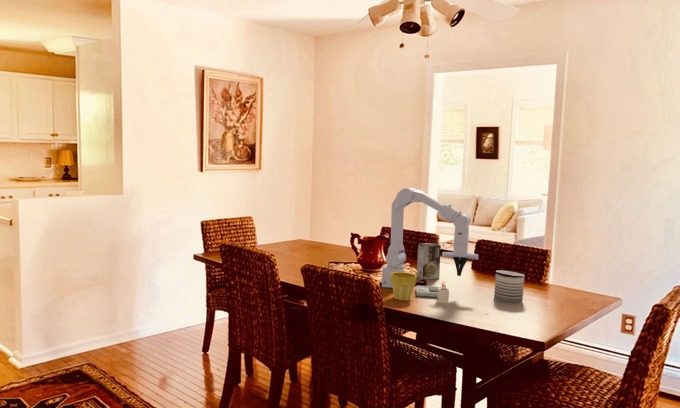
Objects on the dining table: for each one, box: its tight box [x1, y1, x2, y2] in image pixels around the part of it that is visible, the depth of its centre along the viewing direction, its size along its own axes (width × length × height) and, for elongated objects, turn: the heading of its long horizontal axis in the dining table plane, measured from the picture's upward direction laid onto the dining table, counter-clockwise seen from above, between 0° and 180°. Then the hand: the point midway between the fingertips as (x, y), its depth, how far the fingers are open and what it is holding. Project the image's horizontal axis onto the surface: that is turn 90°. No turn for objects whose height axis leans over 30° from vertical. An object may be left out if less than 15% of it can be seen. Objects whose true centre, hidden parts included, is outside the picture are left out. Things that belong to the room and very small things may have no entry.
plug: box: [437, 286, 450, 304], centre depth 224 cm, size 4×4×6 cm
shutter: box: [428, 281, 447, 292], centre depth 234 cm, size 6×6×3 cm
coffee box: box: [416, 242, 442, 280], centre depth 264 cm, size 9×6×16 cm
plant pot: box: [391, 271, 418, 301], centre depth 226 cm, size 10×10×10 cm
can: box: [493, 269, 525, 305], centre depth 230 cm, size 11×11×12 cm
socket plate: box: [415, 285, 438, 299], centre depth 235 cm, size 12×11×2 cm
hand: (458, 275), depth 233 cm, fingers closed
